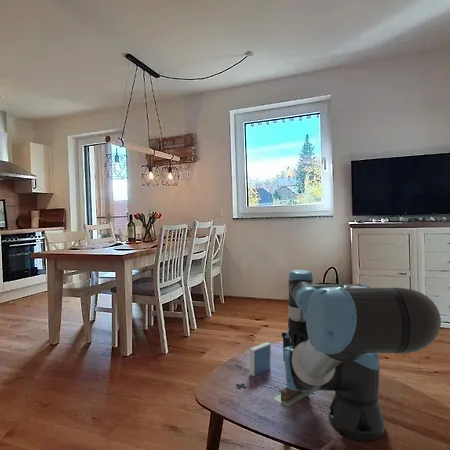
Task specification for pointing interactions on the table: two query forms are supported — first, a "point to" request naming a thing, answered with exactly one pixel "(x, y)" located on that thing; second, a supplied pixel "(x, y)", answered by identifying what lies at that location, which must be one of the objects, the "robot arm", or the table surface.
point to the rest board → (292, 398)
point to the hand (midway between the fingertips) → (299, 386)
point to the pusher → (289, 394)
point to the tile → (260, 358)
